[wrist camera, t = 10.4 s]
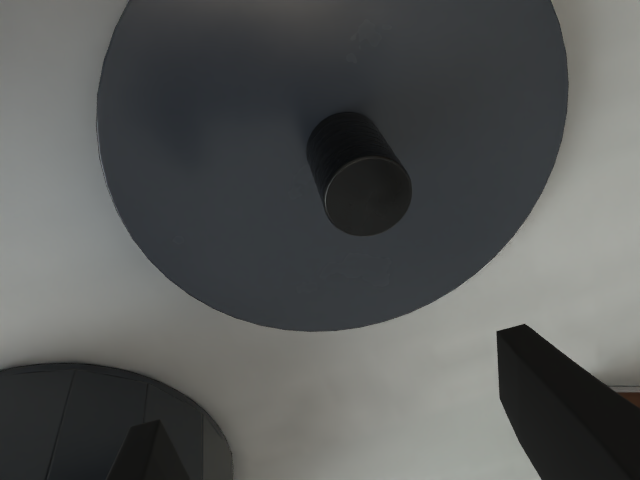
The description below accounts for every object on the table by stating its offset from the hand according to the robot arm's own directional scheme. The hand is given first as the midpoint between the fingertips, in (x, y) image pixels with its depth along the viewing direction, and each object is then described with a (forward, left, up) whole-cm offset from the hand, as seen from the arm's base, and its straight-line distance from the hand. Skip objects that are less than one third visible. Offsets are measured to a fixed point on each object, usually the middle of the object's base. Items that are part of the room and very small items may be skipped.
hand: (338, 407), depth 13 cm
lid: (-2, +2, -9) cm, 9 cm away
